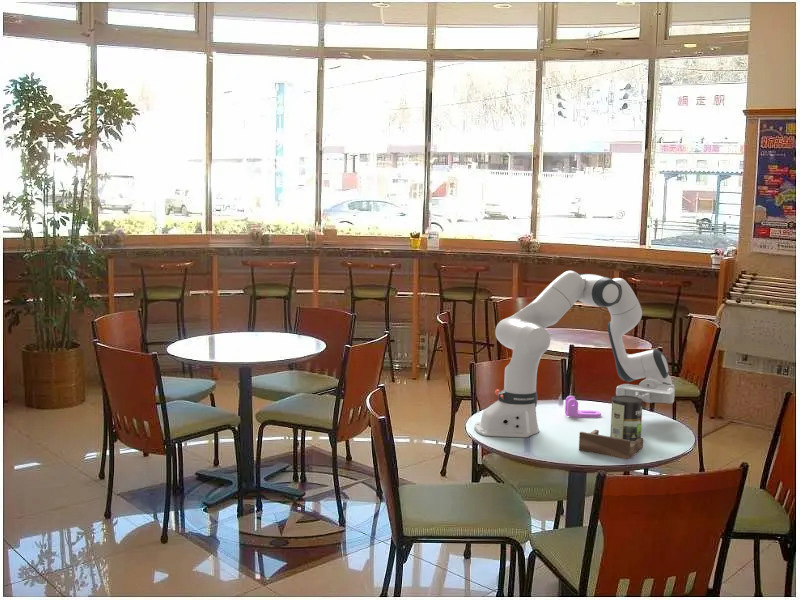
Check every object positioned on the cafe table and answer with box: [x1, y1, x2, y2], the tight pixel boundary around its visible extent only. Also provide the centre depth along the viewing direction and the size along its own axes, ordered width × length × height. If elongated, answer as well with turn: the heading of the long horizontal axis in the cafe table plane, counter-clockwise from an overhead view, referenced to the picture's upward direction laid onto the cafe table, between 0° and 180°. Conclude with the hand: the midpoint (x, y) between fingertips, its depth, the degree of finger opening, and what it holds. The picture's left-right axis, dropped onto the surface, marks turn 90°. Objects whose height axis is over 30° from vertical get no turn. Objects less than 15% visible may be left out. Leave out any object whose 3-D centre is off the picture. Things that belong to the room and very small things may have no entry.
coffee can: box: [609, 395, 644, 444], centre depth 283 cm, size 10×10×14 cm
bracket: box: [564, 395, 602, 418], centre depth 313 cm, size 13×6×7 cm, turn 89°
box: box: [578, 429, 644, 461], centre depth 272 cm, size 15×16×6 cm
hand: (638, 398), depth 293 cm, fingers closed
